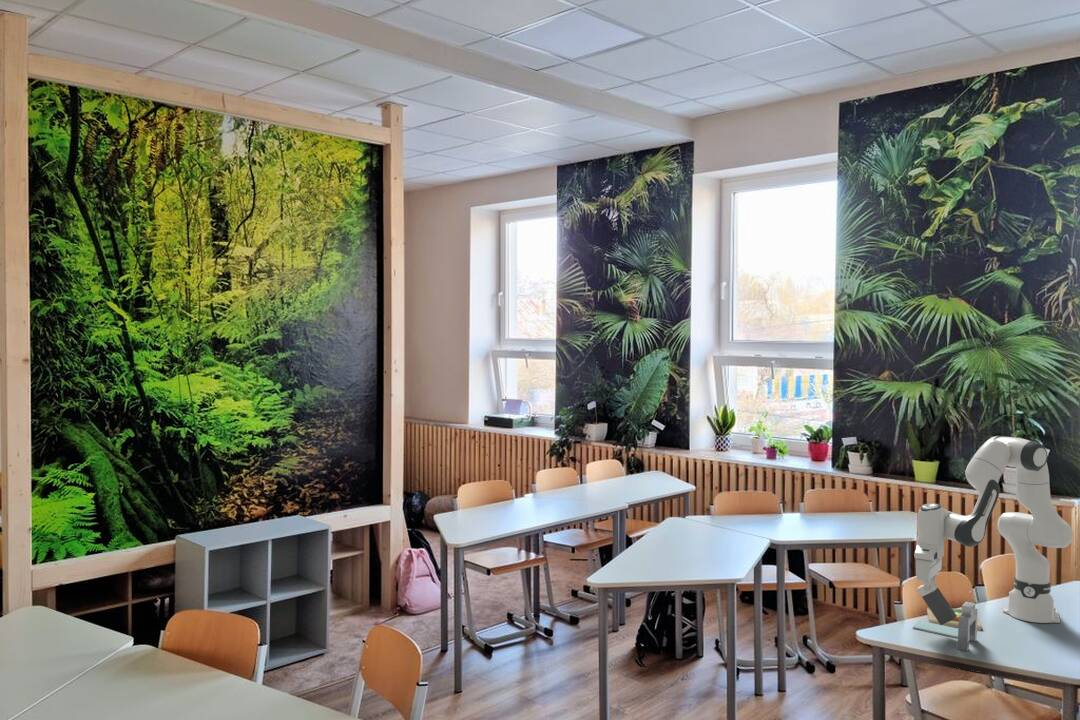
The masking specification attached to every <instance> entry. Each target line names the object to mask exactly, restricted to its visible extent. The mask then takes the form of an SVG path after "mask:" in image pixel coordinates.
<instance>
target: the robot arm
mask: <svg viewBox="0 0 1080 720" xmlns="http://www.w3.org/2000/svg"><path fill="white" fill-rule="evenodd" d="M1047 460H1048V452H1047V449H1046V447H1045V446H1044V445H1043V443H1040V442H1037V441H1035V440H1028V439H1026V438H1022V437H1013V436H1012V437H1011V436H1004V435H995V436H991V437H990V438H989V439H988V440H986V441H985V442H984V443H983V444H982V445H981V446H980V447H979V448H978V449H977V451H976V452H975V453H974V455H973V456H972V458H971V459H970V461H968V464H967V466H966V469H965V474H964V475H965V477H966V481H967V482H968V484H969V485H971V486H972V487H973V488H974V490H976V491H978V497H977V501H976V502H975V505H974V508H973V509H972V512H971V514H969V515H963V514H959V513H957V512H952V511H950V510H947V509H945V508H944V507H943V506H942V505H941V504H939V503H924V504H922V505H921V506H920V507H919V509H918V512H917V521H916V530H917V537H916V546H915V547H916V548H915V551H914V554H913V555H914V559H915V573H916V580H917V581H920V582H922V583H923V584H922V585H924V590H925V591H929V590H930V581H931V580H933V581H934V583H935V584H936V578H937V574H938V573H939V572H940V571H942V567H943V566H942V565H943V562H942V561H943V559H942V558H944V555H945V554H944V551H945V549H944V548H945V539H947V540H950V541H954V542H956V543H959V544H961V545H963V546H965V547H970V548H972V547H976V546H977V545H979V544H981V542H983V540H984V538H985V535H986V531H987V526H988V524H989V521H990V519H991V516H992V514H993V512H994V508H995V507H996V504H997V501H998V500H999V496H1000V493H1001V492H1000V491H1001V487H1000V486H1001V485H1000V484H999V482H1000V478H1001V477H1002V475H1003V473H1004V471H1005V470H1006V468H1007V467H1010V468H1015V495H1016V500H1017V502H1018V503H1019V504H1020V505H1021V506H1023V507H1024V508H1026V509H1027V510H1028V511H1029V513H1025V512H1018V511H1016V512H1014V511H1012V512H1011V511H1010V512H1009V511H1008V512H1003V513H1002V514H1001V515H1000V516H999V517H998V520H997V524H996V526H997V530H998V532H999V534H1000V536H1002V537H1003V539H1005V541H1006V542H1007V544H1009V546H1010V547H1011V549H1012V551H1013V555H1014V559H1015V577H1014V580H1013V589H1012V590H1010V591H1009V592H1008V595H1009V596H1008V603H1007V604H1008V605H1007V607H1005V608H1003V609H1002V612H1003V613H1005V614H1007V615H1009V616H1011V617H1013V618H1014V619H1018V620H1022V621H1025V622H1031V623H1039V624H1048V623H1050V624H1051V623H1052V624H1053V623H1055V624H1057V623H1061V620H1060V616H1059V613H1058V610H1057V608H1056V607H1054V606H1055V600H1054V598H1053V596H1052V595H1051V588H1052V587H1051V582H1050V575H1051V574H1050V571H1051V570H1050V569H1051V564H1050V562H1049V560H1048V558H1047V557H1046V556H1045V555H1043V554H1041V553H1040V552H1039V551H1038V549H1037V548H1036V546H1040V547H1045V548H1046V547H1047V548H1050V549H1052V548H1053V549H1065V548H1066V547H1069V545H1070V544H1071V542H1072V541H1073V537H1074V533H1073V529H1072V527H1071V525H1070V524H1069V523H1068V522H1067V521H1065V520H1064V519H1063V518H1062V516H1060V515H1059V513H1058V512H1057V511H1056V509H1055V507H1054V504H1053V501H1052V496H1051V488H1050V486H1051V485H1050V472H1049V467H1048V462H1047ZM1035 545H1036V546H1035Z"/></svg>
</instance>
